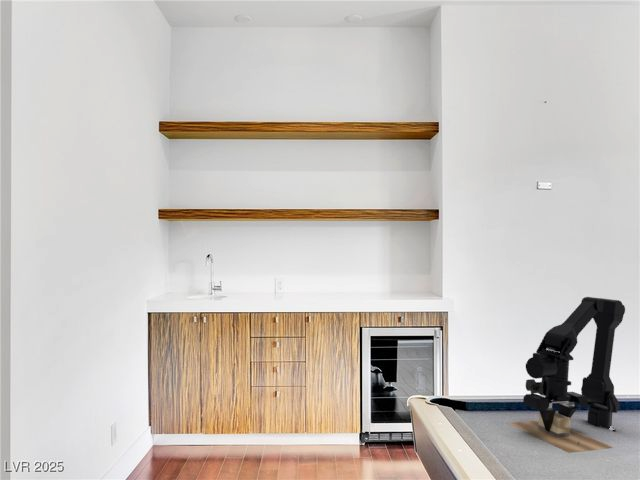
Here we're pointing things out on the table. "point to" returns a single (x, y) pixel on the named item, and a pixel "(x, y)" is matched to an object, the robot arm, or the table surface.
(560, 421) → the block
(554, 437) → the light brown wooden board
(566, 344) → the robot arm
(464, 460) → the table surface
